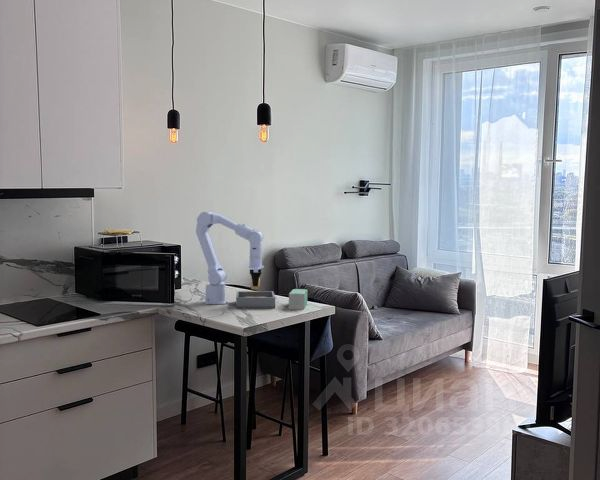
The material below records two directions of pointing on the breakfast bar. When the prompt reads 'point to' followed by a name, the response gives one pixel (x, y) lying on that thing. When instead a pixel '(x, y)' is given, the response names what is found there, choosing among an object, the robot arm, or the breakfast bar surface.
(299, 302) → the box
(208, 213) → the robot arm
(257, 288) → the peg
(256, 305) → the crate
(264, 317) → the breakfast bar surface
